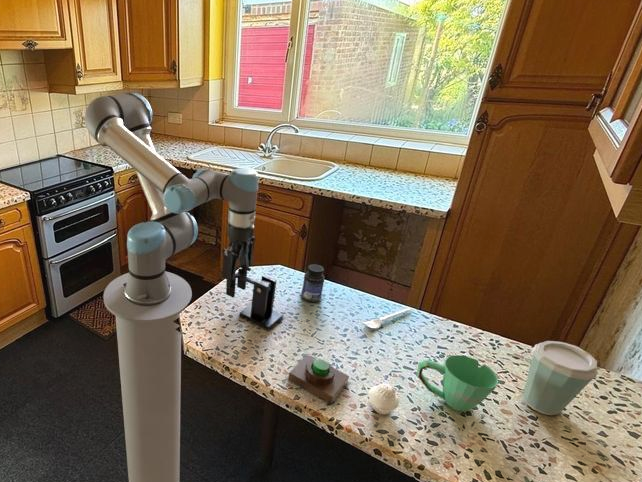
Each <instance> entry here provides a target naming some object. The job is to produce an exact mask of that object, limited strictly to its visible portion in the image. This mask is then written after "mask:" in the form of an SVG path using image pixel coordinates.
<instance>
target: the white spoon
mask: <svg viewBox="0 0 642 482" xmlns="http://www.w3.org/2000/svg"><path fill="white" fill-rule="evenodd" d="M407 312H411V308H405V309H402V310H400V311H396V312H394V313H391V314H389V315H385V316H383V317H380V318H375V319H374V318H373V319H371V320H368V321H361V323H363V324H364V325H365V326H367V327H368V328H370V329H379V328H381V326H382V323H383V322H385V321H388V320H390V319H393V318H395V317H398V316H400V315H402V314H405V313H407Z"/></svg>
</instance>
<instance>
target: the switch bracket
mask: <svg viewBox="0 0 642 482" xmlns="http://www.w3.org/2000/svg"><path fill="white" fill-rule="evenodd" d="M255 280H256V281H254V284H253V289H252V297H251V303H250V304H249V305H248V306H247V307H245V308H244V309H242V310H241V311H240V312H239V316H240V317H241V318H244V319H245V320H247V321H249V322H251V323H252V324H255V325H257V326H258V327H260V328H262V329H264V330H266V331H270V330H271V328H273V327H274V326H275V325H277V324H278V322H280V321H281V320H282V319H283V318H284V317H283V316H284V315H283V314H282V313H281V312H278V311H276V310H274V302H275V295H276V287H277V280H276V279H275V278H272V277H270V276H267V275H265V274H263V275H262V276H261V280H260V281H262V280H265V281H268V282H270V283H271V290H270V291H269V286H268V285H266V284H263V283H261V282H260V281H259V280H257V279H255Z"/></svg>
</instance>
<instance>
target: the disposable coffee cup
mask: <svg viewBox="0 0 642 482" xmlns="http://www.w3.org/2000/svg"><path fill="white" fill-rule="evenodd" d="M531 354H532V357H531V359H530V360H531V361H530V366H529V370H528V373H527V376H526V381H525V385H524V389H523V393H522V397H523V401H524V403H525V404H526V405H527V406H528V407H529V408H531V409H532V410H534V411H536V412H538V413H540V414H542V415H546V416H555V415H558V414H560V413H561V412H563V410H564V409H566V408H567V406H568V405H569V404H570V403H571V402H572V401H573V400H574V399H575V398H576V397H577V396H578V395H579V394H580V393H581V392H582V390H584V389H585V388H586V386H588V385H589V383H590V382H592V381H593V380H594V379H596V378H597V377H598V376H597V375H598V369H599V367H598V361H597V360H596V358H595V357H594V356H593V355H592V354H590V353H589V352H587V351H586V350H584V349H582V348H580V347H579V346H577V345H574V344H570V343H567V342H563V341H555V340H545V341H543V342H539V343H536V344H534V346H533V347H532V350H531Z"/></svg>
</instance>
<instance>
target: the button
mask: <svg viewBox="0 0 642 482" xmlns="http://www.w3.org/2000/svg"><path fill="white" fill-rule="evenodd" d="M316 359H317V360H315V361H314V362H313V367H312V369H313V371H314V372H315V373H317V374H318V375H326V374H327V373H328V370H329V364H328V363H329V362H328V361H326V360H324V359H321V358H316ZM327 362H328V363H327Z"/></svg>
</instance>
